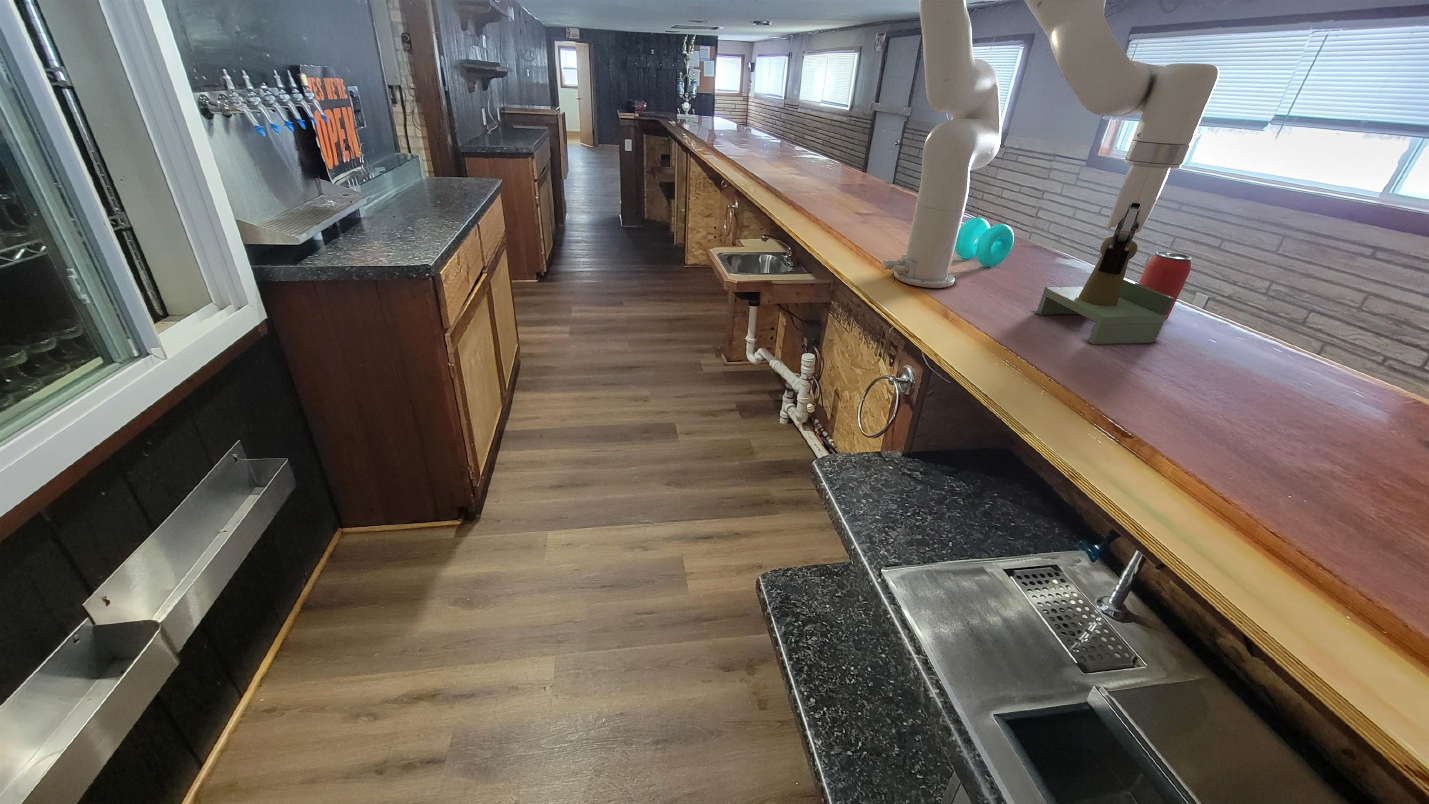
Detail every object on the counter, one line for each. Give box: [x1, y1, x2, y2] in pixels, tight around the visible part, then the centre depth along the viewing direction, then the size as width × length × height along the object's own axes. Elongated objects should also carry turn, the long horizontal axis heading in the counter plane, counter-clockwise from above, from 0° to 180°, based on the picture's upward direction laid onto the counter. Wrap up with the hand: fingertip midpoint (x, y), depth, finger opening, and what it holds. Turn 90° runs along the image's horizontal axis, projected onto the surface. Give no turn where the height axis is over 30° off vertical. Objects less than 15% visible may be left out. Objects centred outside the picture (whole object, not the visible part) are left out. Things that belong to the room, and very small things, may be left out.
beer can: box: [1137, 250, 1193, 322], centre depth 105 cm, size 7×7×12 cm
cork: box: [1079, 236, 1139, 306], centre depth 97 cm, size 6×6×11 cm
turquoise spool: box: [954, 216, 1015, 268], centre depth 135 cm, size 10×10×10 cm
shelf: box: [1036, 277, 1175, 345], centre depth 101 cm, size 12×15×8 cm
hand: (1110, 268), depth 97 cm, fingers closed on cork, 5 cm apart
